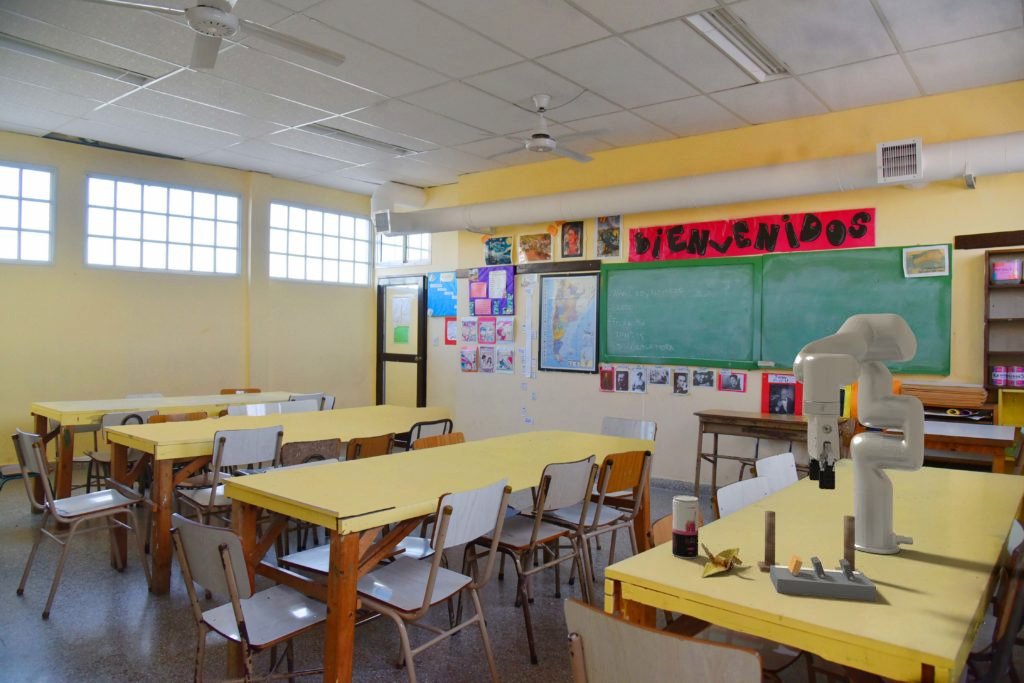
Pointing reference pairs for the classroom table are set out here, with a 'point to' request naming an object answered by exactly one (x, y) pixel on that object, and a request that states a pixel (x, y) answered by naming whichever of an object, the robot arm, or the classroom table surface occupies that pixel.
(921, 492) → the classroom table surface
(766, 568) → the post left
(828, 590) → the panel
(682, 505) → the beverage can
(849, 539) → the post right
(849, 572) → the toggle
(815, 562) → the toggle
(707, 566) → the origami crane
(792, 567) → the toggle
